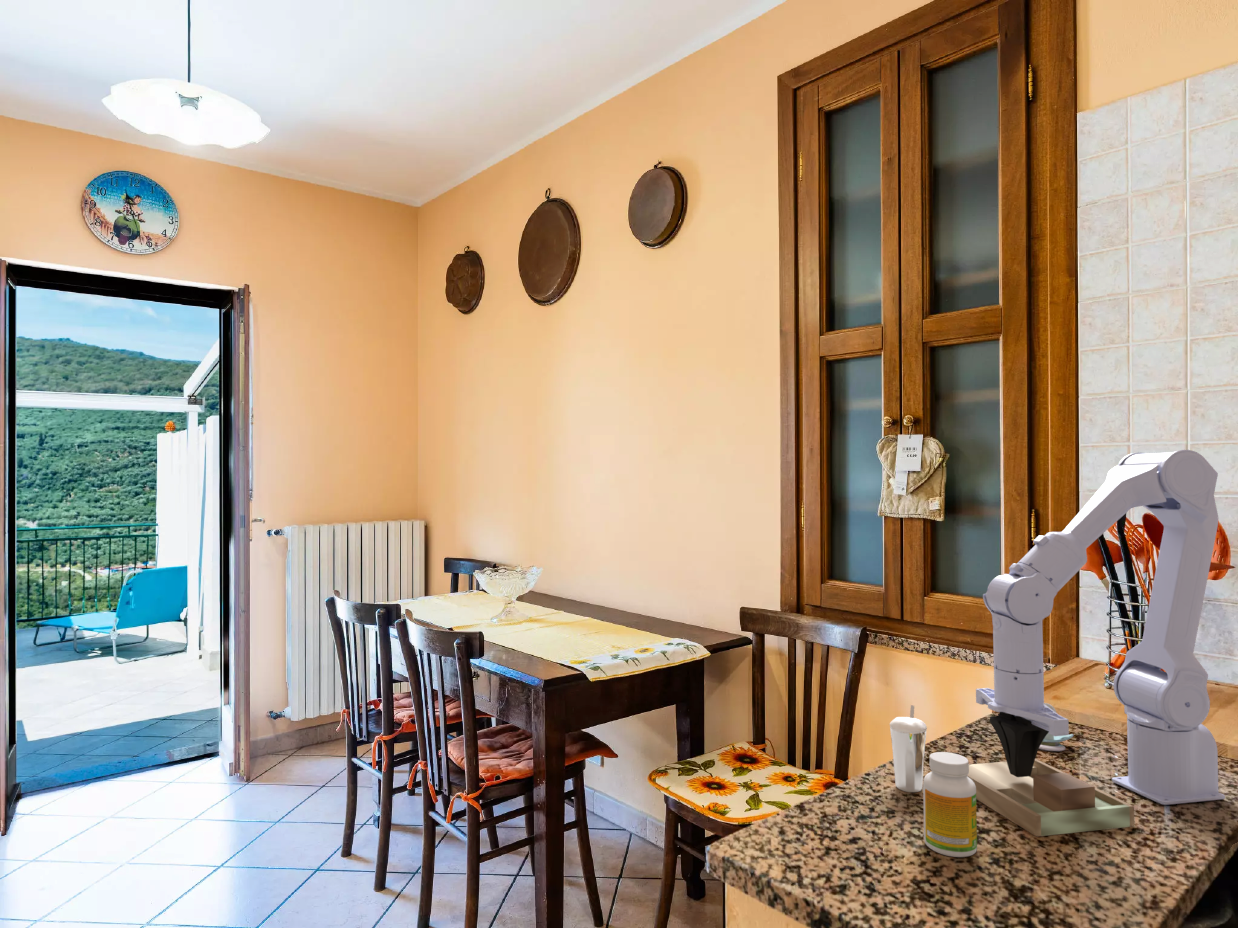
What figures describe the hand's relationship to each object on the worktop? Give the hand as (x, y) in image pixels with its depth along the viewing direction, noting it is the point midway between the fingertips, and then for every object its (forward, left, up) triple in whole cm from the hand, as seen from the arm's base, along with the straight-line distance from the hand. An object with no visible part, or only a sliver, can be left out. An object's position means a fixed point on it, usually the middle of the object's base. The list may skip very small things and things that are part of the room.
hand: (1020, 774), depth 98 cm
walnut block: (0, +7, -1) cm, 8 cm away
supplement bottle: (+18, +11, -3) cm, 21 cm away
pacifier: (-16, -16, -3) cm, 23 cm away
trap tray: (0, +2, -2) cm, 3 cm away
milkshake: (+13, -5, -3) cm, 14 cm away
